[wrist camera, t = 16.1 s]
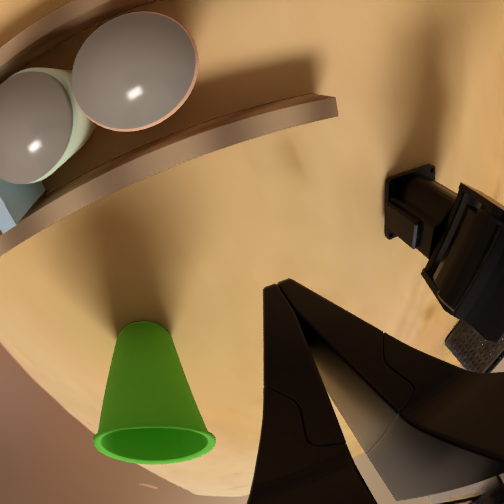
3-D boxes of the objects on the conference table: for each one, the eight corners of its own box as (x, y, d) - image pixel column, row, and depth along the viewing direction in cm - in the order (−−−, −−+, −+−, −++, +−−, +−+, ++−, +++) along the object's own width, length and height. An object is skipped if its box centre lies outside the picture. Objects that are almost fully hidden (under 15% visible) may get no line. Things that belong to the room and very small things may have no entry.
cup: (156, 287, 22) (168, 414, 13) (208, 345, 27) (236, 446, 19) (78, 328, 22) (67, 440, 13) (137, 375, 27) (147, 469, 18)
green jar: (84, 53, 11) (53, 43, 7) (112, 133, 15) (91, 153, 11) (10, 99, 11) (-35, 112, 7) (39, 173, 14) (4, 207, 10)
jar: (175, 18, 12) (180, -9, 8) (201, 99, 15) (216, 104, 11) (84, 55, 11) (53, 45, 7) (113, 134, 15) (93, 155, 11)
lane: (276, -37, 11) (300, -55, 8) (315, 109, 18) (344, 117, 15) (-67, 135, 8) (-94, 149, 6) (-12, 252, 15) (-30, 280, 12)
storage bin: (513, 238, 40) (555, 274, 30) (520, 260, 49) (551, 290, 39) (439, 343, 51) (472, 385, 40) (461, 343, 60) (487, 376, 49)
